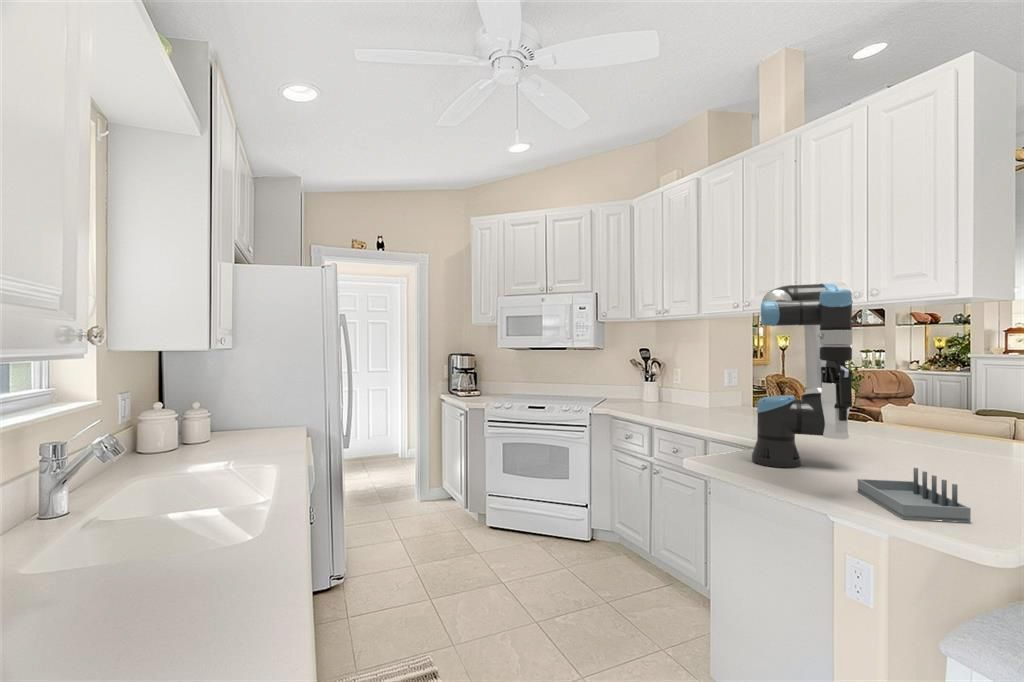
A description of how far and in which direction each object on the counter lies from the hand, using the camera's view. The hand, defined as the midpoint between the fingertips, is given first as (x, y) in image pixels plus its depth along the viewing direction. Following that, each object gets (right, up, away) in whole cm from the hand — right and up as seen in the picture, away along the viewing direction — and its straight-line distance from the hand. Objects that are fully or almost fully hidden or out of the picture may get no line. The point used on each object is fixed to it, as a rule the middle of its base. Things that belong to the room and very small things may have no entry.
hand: (835, 430), depth 142 cm
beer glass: (0, -2, 0) cm, 2 cm away
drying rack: (+14, -18, -8) cm, 24 cm away
